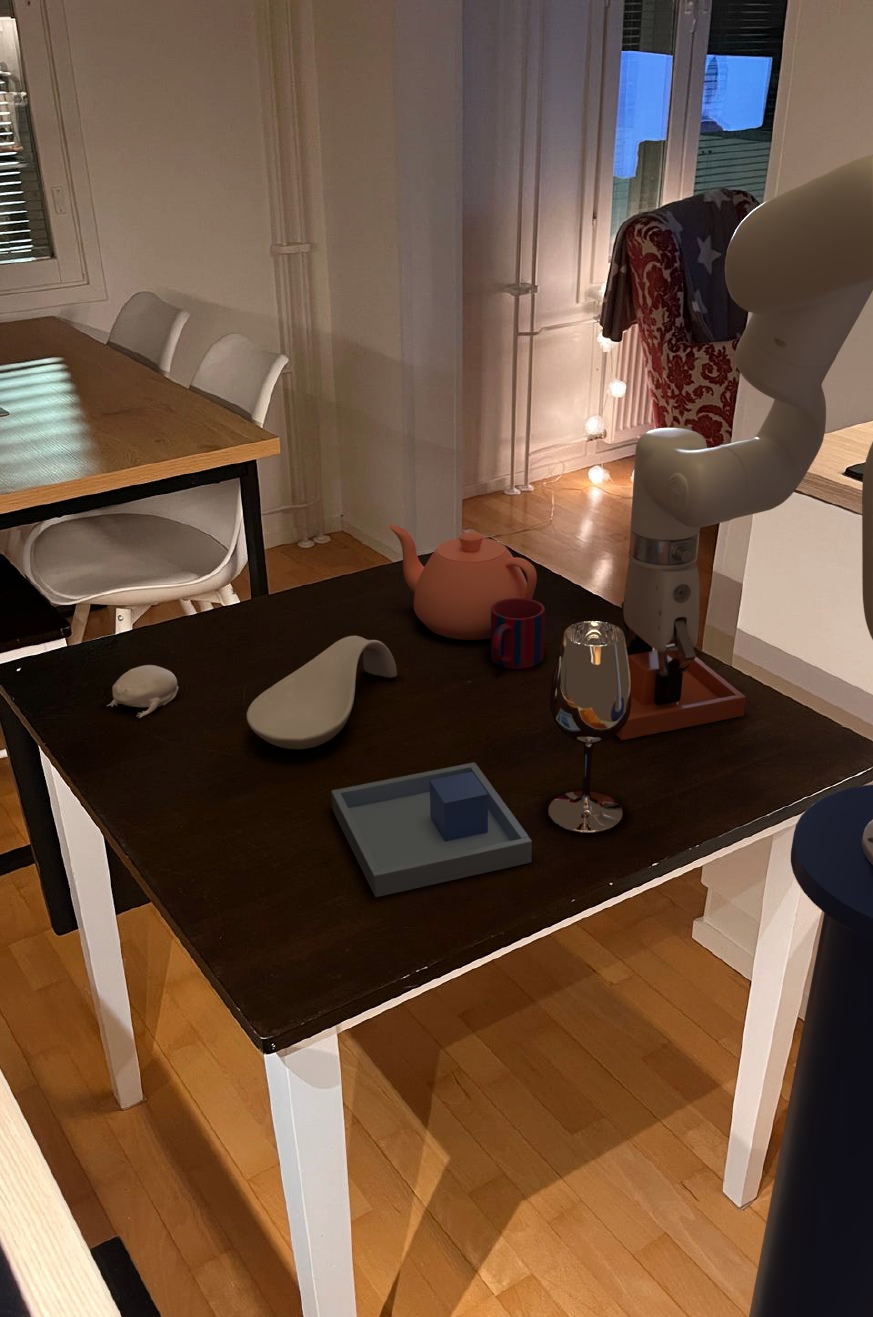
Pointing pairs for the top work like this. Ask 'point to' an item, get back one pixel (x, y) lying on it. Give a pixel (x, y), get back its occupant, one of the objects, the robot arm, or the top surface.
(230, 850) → the top surface
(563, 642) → the wineglass
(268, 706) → the spoon rest
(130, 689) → the frog figurine
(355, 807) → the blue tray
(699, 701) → the terracotta tray
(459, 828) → the blue block
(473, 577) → the teapot
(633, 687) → the terracotta block
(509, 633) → the mug
